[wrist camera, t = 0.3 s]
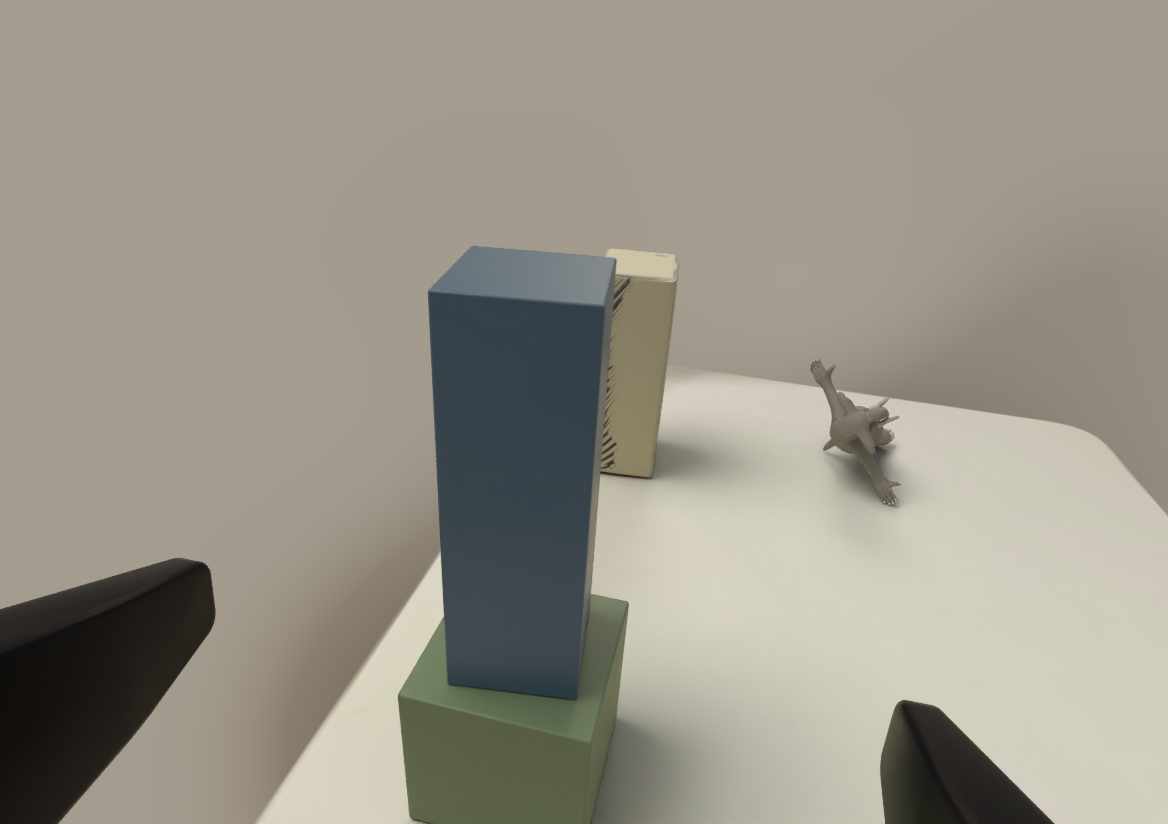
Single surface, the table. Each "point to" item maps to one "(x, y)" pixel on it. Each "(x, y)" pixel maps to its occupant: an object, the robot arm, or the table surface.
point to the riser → (511, 737)
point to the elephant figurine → (857, 430)
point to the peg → (519, 460)
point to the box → (638, 359)
